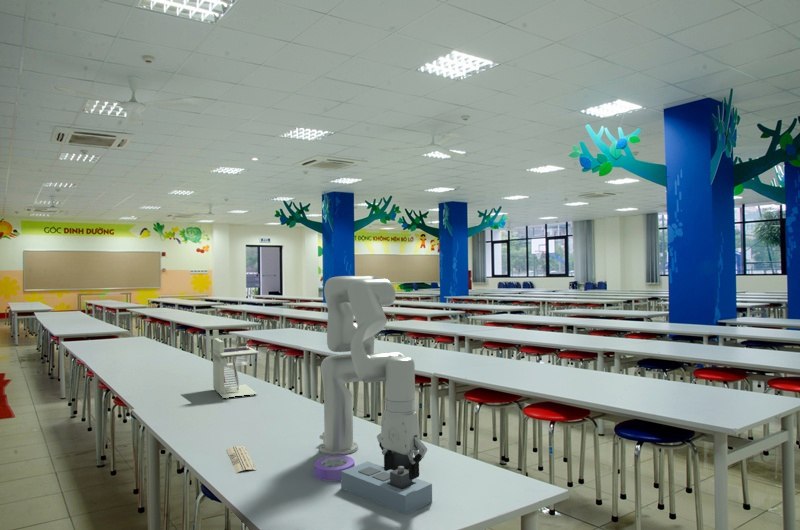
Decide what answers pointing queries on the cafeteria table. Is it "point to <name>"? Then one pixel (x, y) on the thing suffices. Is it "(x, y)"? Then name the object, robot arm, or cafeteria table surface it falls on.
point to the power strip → (385, 488)
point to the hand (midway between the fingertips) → (401, 473)
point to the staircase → (221, 362)
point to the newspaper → (240, 459)
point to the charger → (400, 478)
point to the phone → (401, 460)
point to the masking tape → (332, 467)
